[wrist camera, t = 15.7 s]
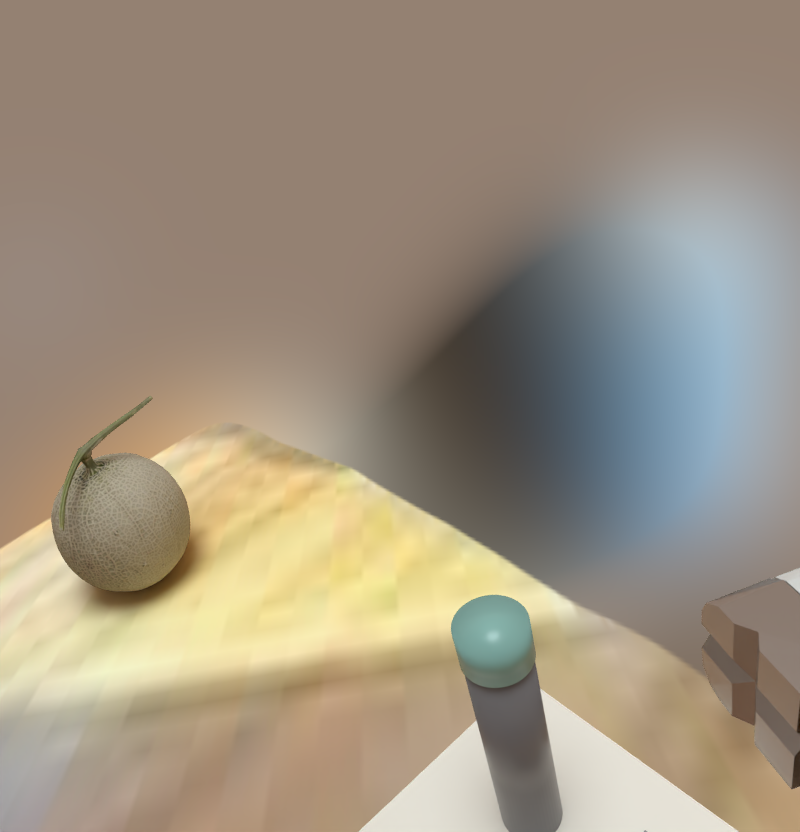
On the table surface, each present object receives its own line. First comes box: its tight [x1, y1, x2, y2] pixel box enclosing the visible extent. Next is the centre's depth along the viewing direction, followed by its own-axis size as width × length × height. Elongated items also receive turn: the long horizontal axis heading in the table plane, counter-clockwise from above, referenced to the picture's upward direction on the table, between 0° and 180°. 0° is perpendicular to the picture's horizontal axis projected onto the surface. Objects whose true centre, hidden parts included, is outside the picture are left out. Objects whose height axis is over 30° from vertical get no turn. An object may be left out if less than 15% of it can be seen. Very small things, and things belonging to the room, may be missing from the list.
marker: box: [451, 595, 562, 832], centre depth 34 cm, size 3×3×14 cm
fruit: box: [51, 396, 190, 592], centre depth 59 cm, size 10×12×15 cm
